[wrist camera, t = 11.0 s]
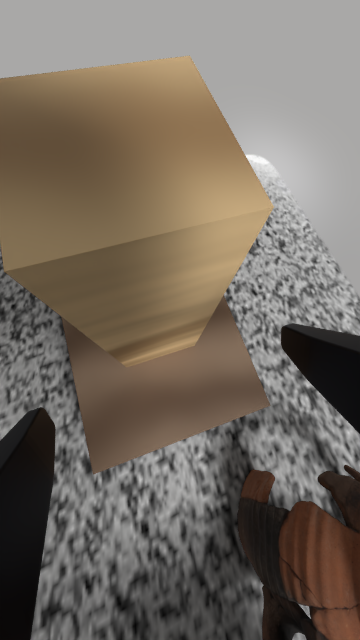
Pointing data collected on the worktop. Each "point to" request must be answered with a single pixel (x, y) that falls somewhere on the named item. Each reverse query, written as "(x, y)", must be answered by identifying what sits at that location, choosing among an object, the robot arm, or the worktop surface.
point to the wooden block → (125, 201)
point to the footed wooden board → (162, 391)
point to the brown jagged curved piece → (305, 558)
